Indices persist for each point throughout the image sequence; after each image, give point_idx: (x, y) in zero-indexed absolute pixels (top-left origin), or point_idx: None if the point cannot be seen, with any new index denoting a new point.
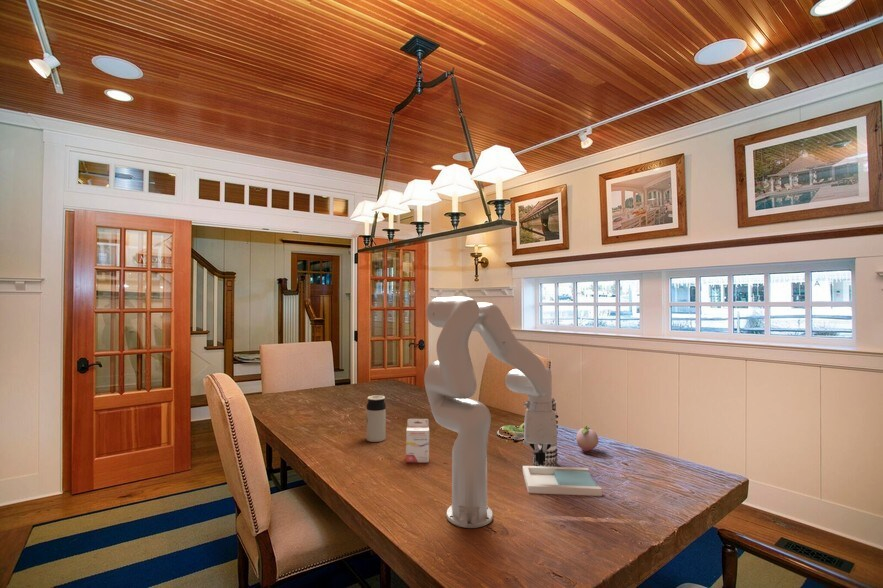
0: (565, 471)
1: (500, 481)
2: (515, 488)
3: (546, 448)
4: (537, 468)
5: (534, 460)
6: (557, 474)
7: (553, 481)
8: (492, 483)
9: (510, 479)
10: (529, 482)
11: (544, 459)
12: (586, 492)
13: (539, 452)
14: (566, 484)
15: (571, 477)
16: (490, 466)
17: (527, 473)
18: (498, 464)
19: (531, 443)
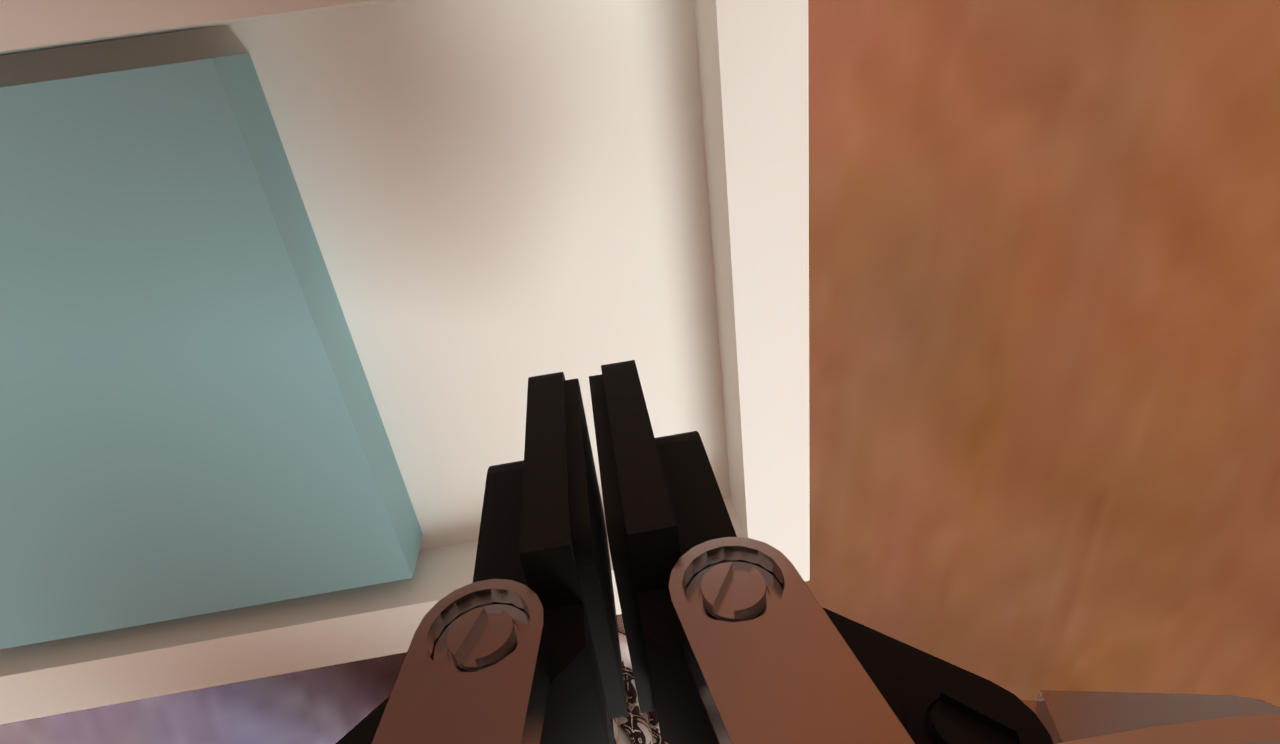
0: (258, 584)
1: (1054, 279)
2: (906, 112)
3: (396, 717)
4: None
5: (658, 734)
6: (348, 473)
7: (409, 364)
8: (1165, 198)
9: (927, 361)
10: (769, 21)
11: (505, 483)
12: None
13: (642, 564)
14: (131, 141)
15: (125, 427)
16: (1072, 594)
17: (770, 372)
18: (986, 649)
19: (1177, 724)
